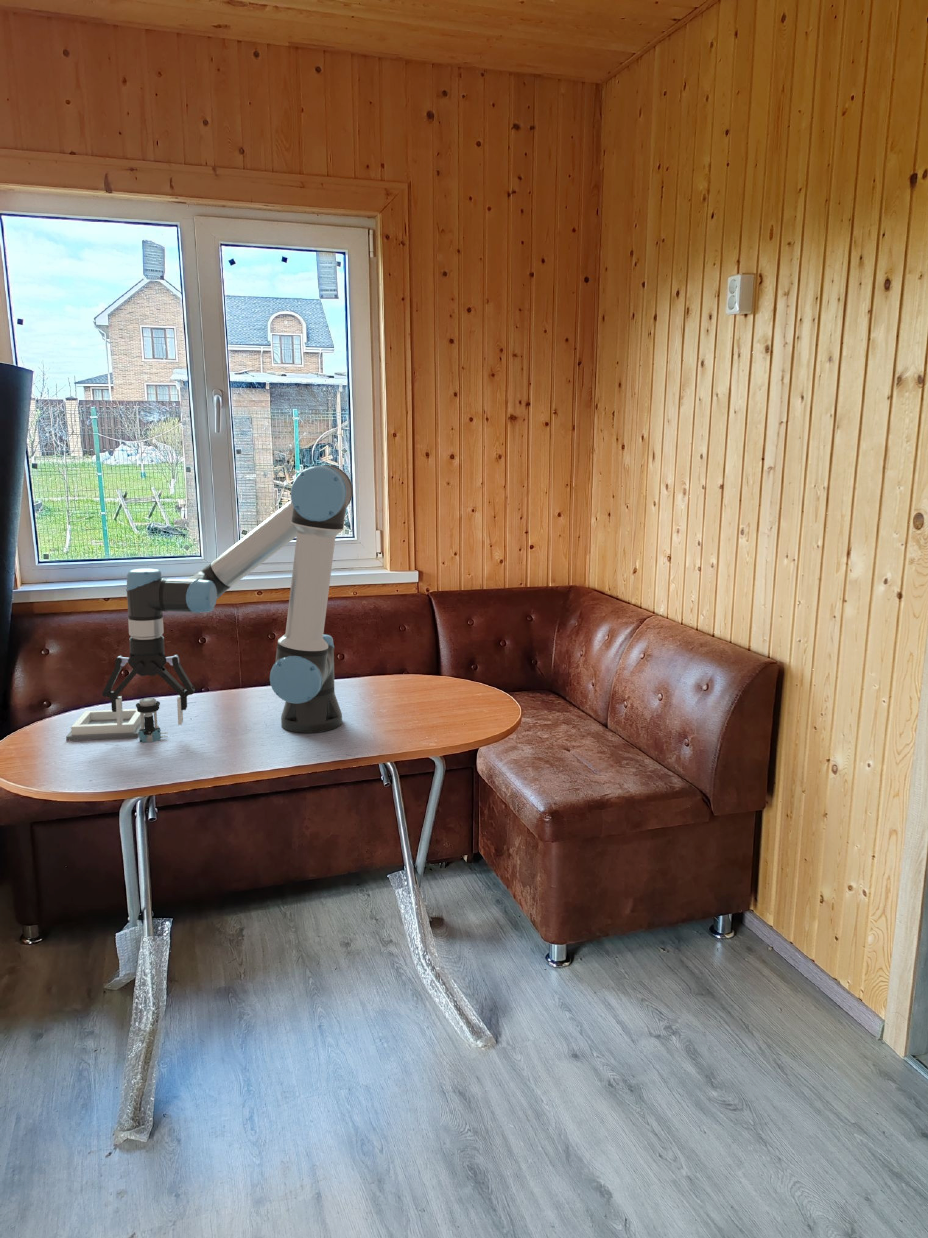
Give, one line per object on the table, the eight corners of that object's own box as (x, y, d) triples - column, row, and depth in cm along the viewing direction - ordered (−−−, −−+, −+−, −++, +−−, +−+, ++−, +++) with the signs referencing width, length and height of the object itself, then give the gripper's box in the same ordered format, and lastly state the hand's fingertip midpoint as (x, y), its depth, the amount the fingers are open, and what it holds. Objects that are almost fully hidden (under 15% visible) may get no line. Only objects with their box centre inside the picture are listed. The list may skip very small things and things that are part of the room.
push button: (168, 735, 204) (165, 695, 202) (168, 742, 199) (165, 701, 197) (138, 738, 202) (135, 697, 200) (137, 745, 197) (135, 703, 195)
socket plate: (149, 718, 216) (148, 707, 216) (137, 737, 202) (136, 725, 201) (83, 721, 214) (82, 709, 213) (66, 740, 199) (65, 728, 199)
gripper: (204, 632, 201) (207, 717, 205) (93, 633, 197) (98, 720, 201) (200, 638, 194) (203, 727, 198) (85, 640, 190) (90, 730, 194)
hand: (150, 724), depth 199 cm, fingers open, 13 cm apart
